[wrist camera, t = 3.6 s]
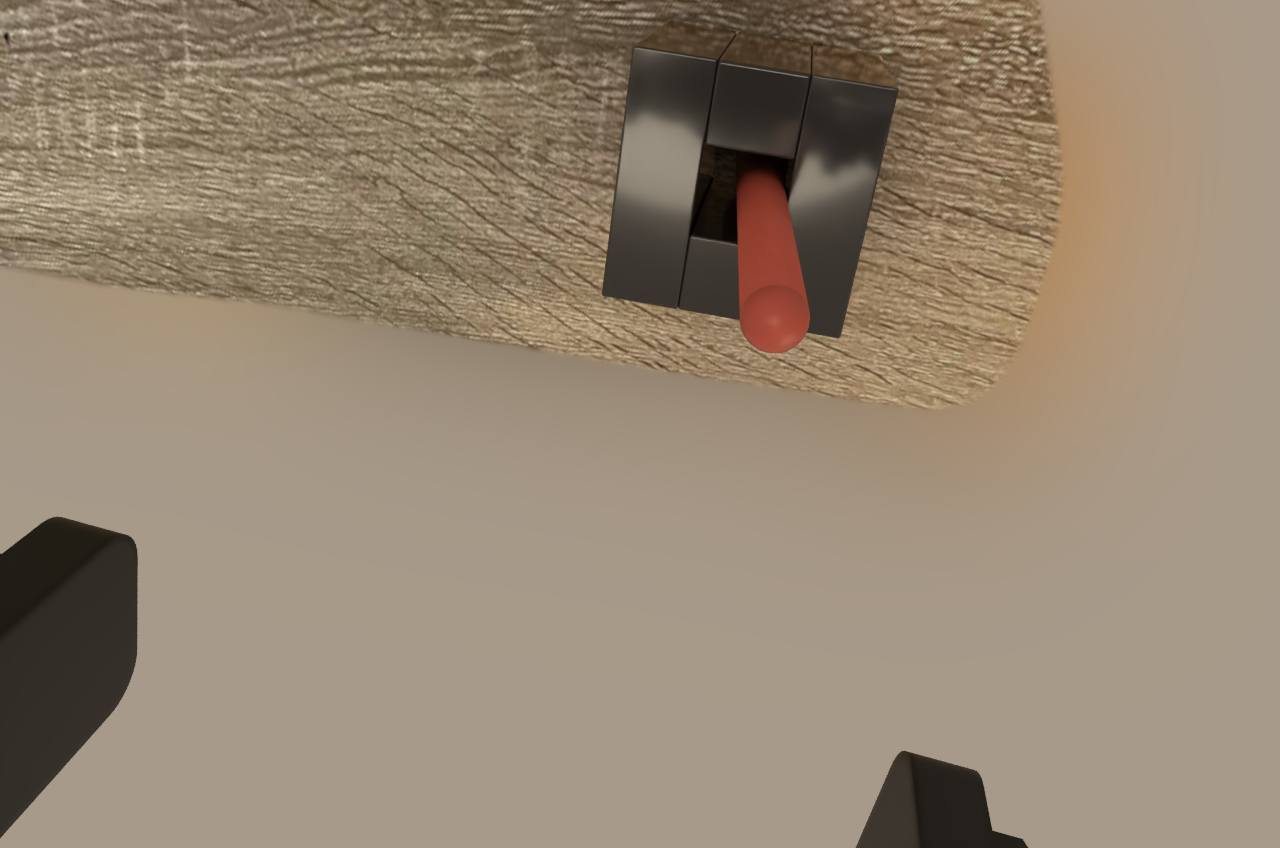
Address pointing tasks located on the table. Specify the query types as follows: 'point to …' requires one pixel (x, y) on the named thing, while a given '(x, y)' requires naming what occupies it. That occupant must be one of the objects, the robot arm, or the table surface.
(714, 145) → the holder
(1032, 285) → the table surface
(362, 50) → the table surface
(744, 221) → the red rod
